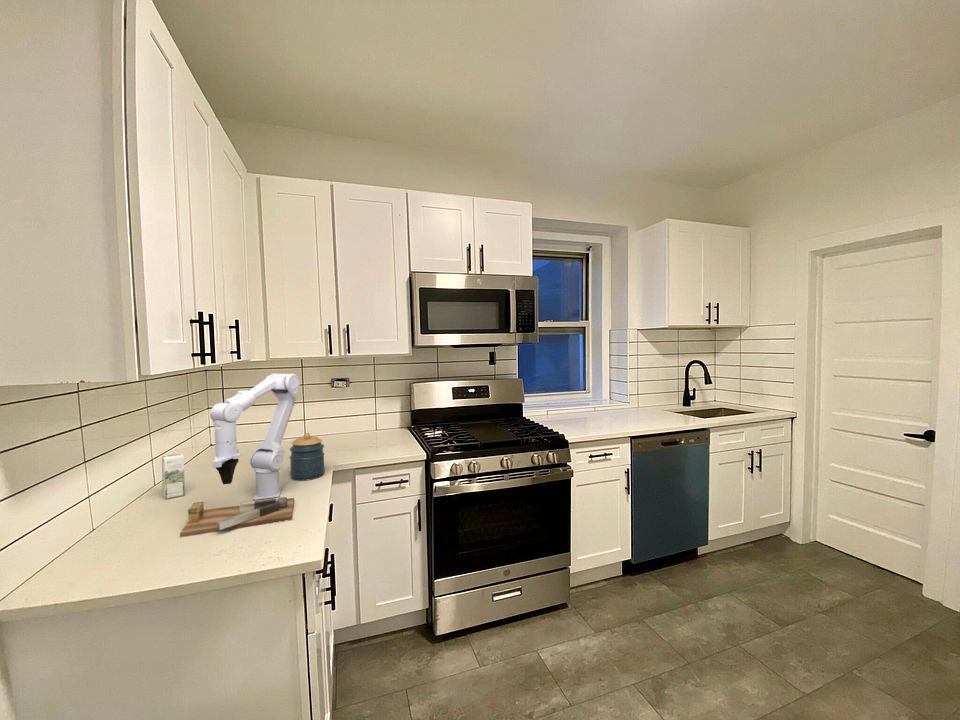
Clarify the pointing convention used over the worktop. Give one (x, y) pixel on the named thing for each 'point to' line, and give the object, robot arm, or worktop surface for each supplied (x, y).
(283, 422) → the robot arm
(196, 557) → the worktop surface
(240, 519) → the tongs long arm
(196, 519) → the wooden u-shaped block
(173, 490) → the syrup box
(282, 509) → the tong board
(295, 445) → the canister
